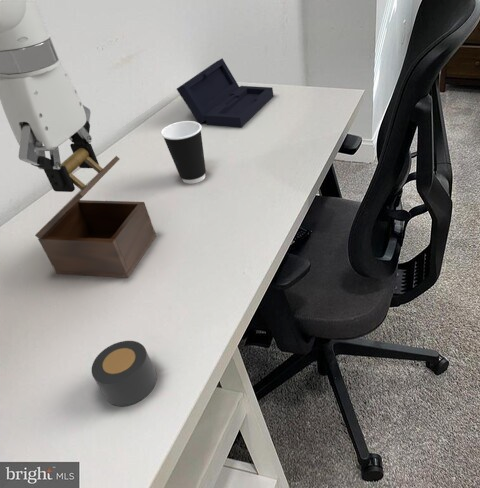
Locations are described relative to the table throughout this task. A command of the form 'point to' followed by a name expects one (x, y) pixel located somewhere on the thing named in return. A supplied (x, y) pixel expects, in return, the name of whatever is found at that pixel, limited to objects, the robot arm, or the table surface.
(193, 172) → the dixie cup
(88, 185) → the lid
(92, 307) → the table surface
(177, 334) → the table surface
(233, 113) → the storage box
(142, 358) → the tape
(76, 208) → the chest
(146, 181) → the table surface
